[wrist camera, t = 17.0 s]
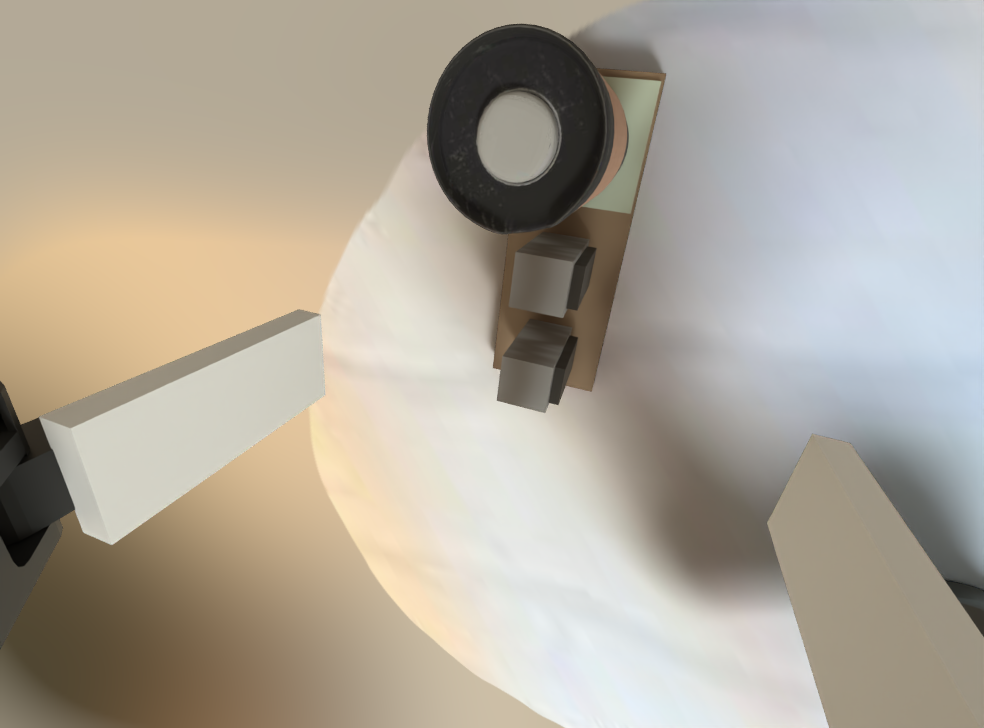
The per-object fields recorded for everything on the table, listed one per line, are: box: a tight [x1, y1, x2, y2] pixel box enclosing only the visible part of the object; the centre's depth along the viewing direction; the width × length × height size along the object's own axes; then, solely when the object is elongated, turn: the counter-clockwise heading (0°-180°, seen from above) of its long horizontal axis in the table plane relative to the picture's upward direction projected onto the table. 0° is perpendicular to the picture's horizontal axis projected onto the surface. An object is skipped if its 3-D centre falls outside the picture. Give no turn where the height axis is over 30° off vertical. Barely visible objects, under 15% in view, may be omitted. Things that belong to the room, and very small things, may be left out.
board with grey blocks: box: [493, 68, 666, 413], centre depth 36 cm, size 10×26×11 cm, turn 174°
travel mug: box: [427, 24, 629, 234], centre depth 26 cm, size 8×8×20 cm
